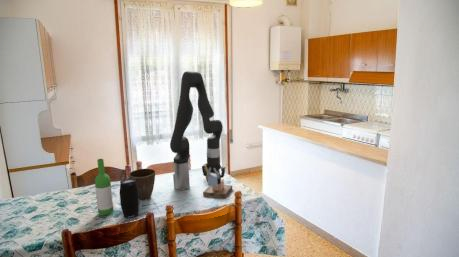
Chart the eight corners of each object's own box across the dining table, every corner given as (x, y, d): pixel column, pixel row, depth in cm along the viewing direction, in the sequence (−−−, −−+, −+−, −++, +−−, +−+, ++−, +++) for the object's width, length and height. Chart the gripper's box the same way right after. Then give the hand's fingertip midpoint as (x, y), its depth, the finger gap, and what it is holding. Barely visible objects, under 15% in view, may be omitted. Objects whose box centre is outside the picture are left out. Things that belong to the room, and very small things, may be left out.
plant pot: (150, 204, 182) (148, 177, 179) (126, 202, 185) (124, 176, 182) (161, 194, 196) (159, 169, 193) (138, 192, 199) (136, 168, 196)
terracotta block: (212, 189, 194) (212, 181, 193) (215, 186, 199) (215, 178, 198) (221, 190, 193) (220, 182, 192) (223, 187, 198) (223, 179, 197)
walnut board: (203, 195, 192) (203, 191, 191) (211, 187, 205) (211, 183, 205) (225, 198, 188) (225, 194, 187) (232, 189, 201) (232, 185, 200)
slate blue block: (207, 185, 182) (207, 176, 181) (211, 182, 187) (211, 173, 186) (216, 186, 180) (216, 177, 179) (220, 183, 185) (219, 174, 184)
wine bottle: (108, 208, 178) (103, 156, 172) (116, 212, 173) (111, 158, 167) (95, 213, 172) (89, 159, 166) (103, 217, 167) (97, 162, 161)
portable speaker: (118, 217, 167) (115, 181, 164) (132, 210, 175) (128, 176, 171) (130, 220, 163) (126, 184, 159) (143, 213, 171) (140, 178, 167)
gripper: (227, 154, 181) (227, 182, 185) (204, 152, 186) (204, 179, 189) (223, 158, 174) (223, 187, 178) (199, 156, 179) (199, 184, 182)
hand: (213, 183), depth 184 cm, fingers closed on slate blue block, 5 cm apart
